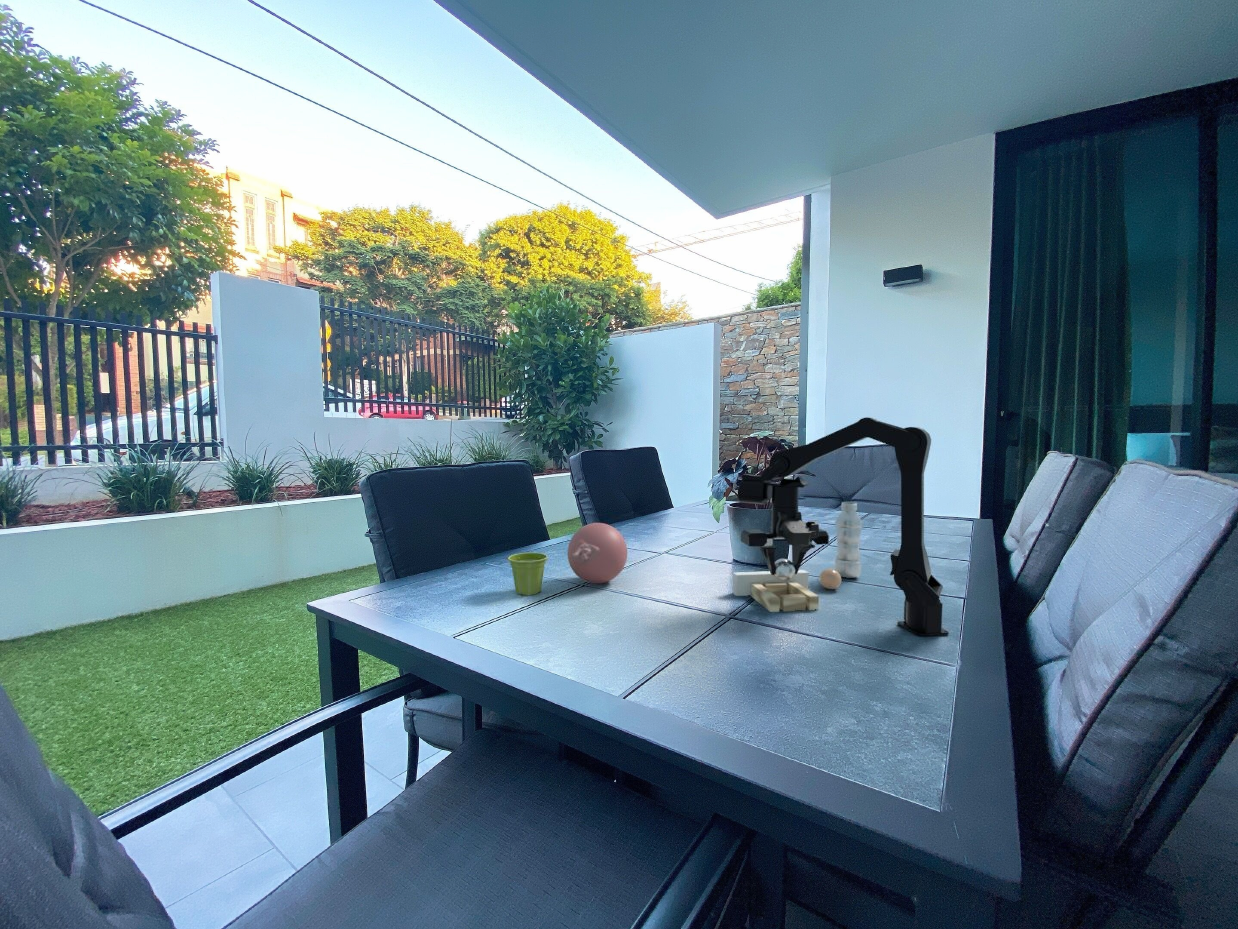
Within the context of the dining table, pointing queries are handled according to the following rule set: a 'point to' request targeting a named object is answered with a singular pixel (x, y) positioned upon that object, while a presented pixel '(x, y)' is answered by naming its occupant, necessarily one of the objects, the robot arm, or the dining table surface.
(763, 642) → the dining table surface
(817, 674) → the dining table surface
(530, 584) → the plant pot
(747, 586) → the stop block
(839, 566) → the plastic bottle
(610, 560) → the pink ball
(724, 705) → the dining table surface
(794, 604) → the beech collar
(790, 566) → the steel ball
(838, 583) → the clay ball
